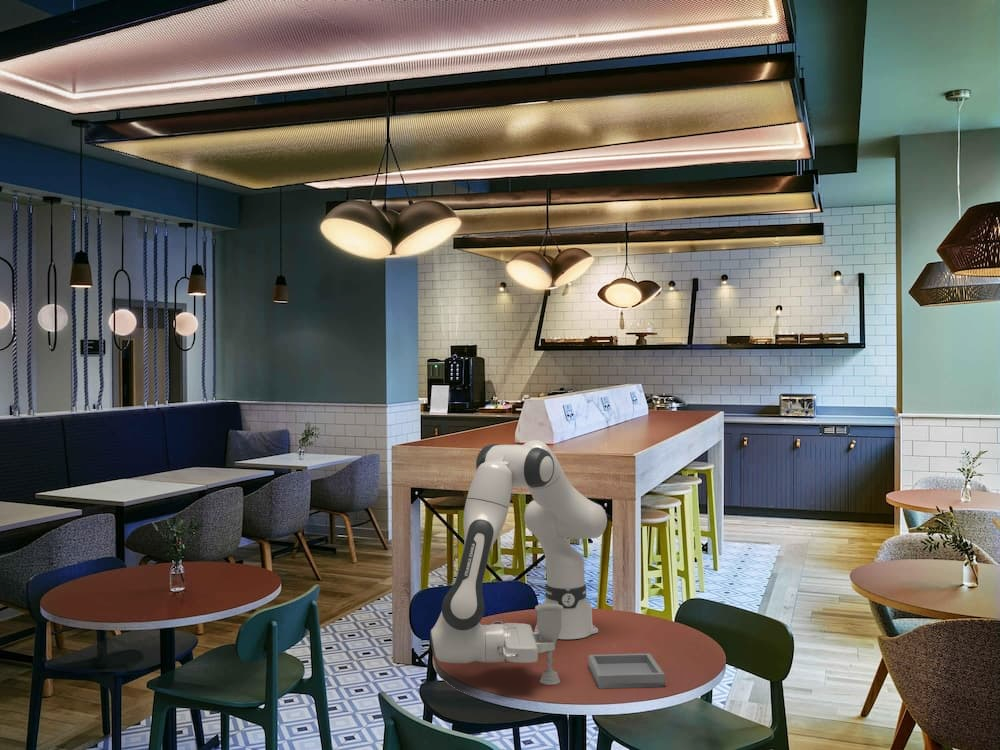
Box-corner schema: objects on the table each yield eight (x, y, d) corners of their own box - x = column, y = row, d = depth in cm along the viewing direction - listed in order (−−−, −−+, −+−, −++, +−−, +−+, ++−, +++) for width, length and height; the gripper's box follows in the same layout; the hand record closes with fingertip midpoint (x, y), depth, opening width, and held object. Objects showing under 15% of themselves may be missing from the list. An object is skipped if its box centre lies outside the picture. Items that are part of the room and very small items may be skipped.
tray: (588, 666, 217) (588, 654, 217) (649, 665, 217) (649, 653, 217) (598, 688, 201) (598, 675, 201) (664, 686, 201) (664, 674, 201)
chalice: (547, 674, 211) (546, 602, 211) (570, 679, 207) (569, 606, 207) (529, 682, 205) (529, 608, 206) (552, 688, 201) (551, 612, 201)
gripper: (498, 643, 195) (557, 641, 196) (495, 619, 216) (548, 617, 216) (499, 670, 195) (558, 668, 196) (495, 643, 216) (549, 642, 216)
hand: (553, 641), depth 206 cm, fingers closed on chalice, 5 cm apart
